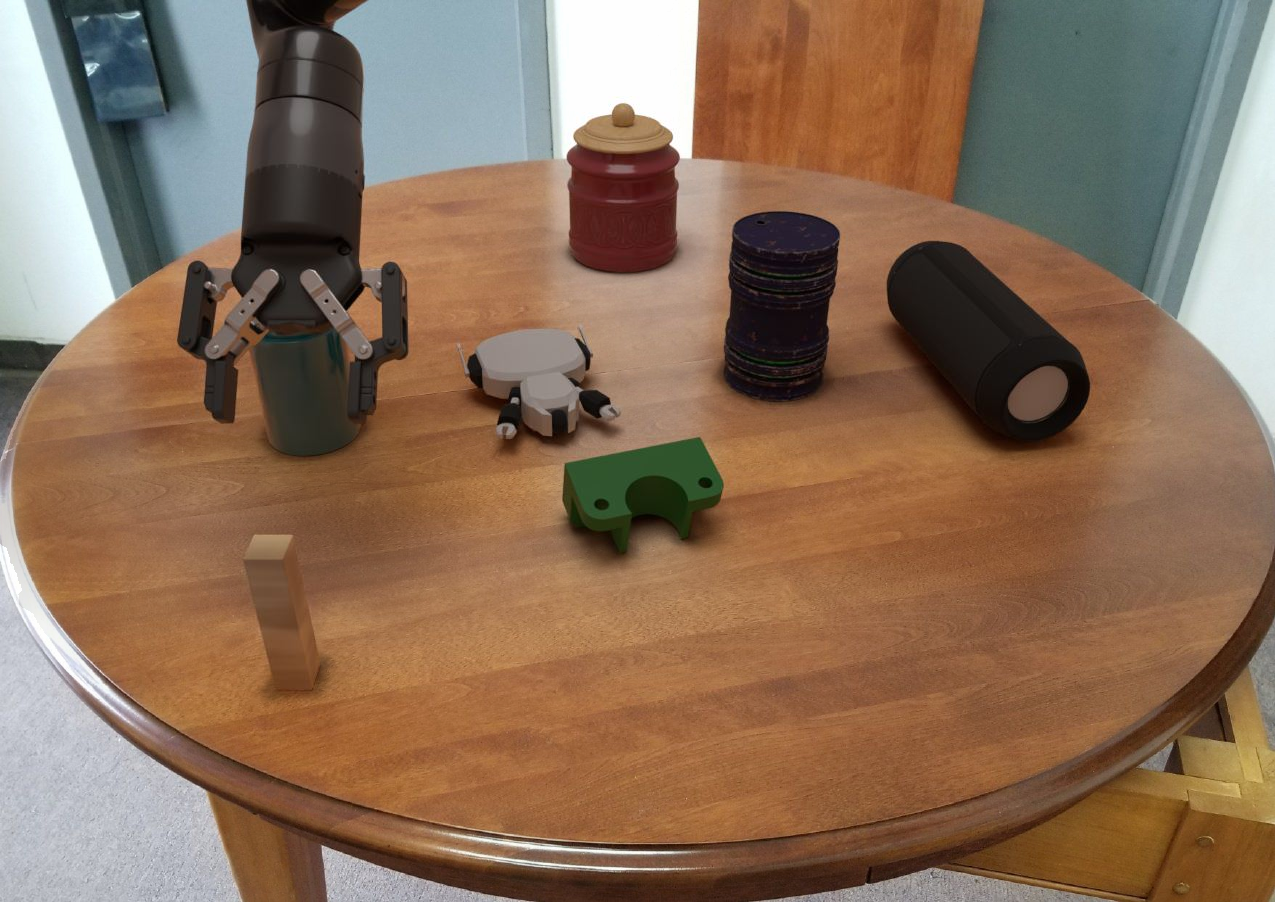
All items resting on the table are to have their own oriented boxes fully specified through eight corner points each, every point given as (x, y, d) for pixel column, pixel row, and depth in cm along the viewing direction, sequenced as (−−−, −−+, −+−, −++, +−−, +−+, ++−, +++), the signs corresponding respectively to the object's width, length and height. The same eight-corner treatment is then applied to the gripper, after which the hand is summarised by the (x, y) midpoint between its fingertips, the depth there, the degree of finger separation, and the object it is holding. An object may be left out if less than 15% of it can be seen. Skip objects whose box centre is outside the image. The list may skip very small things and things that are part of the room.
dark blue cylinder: (844, 375, 105) (863, 230, 96) (784, 413, 99) (799, 263, 90) (762, 341, 110) (774, 202, 102) (701, 376, 104) (708, 231, 96)
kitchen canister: (612, 223, 137) (611, 81, 127) (697, 247, 130) (704, 100, 120) (546, 256, 128) (540, 106, 118) (635, 284, 121) (636, 128, 112)
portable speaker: (1084, 445, 95) (1113, 345, 89) (979, 456, 93) (1002, 355, 87) (958, 317, 115) (976, 229, 110) (871, 324, 114) (884, 235, 108)
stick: (285, 663, 72) (253, 533, 65) (321, 663, 72) (293, 534, 66) (275, 690, 70) (242, 559, 63) (312, 690, 70) (282, 559, 64)
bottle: (249, 445, 93) (210, 276, 84) (302, 401, 100) (271, 239, 91) (328, 463, 91) (296, 292, 82) (377, 417, 97) (353, 252, 89)
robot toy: (628, 442, 96) (579, 354, 107) (630, 400, 93) (579, 315, 104) (494, 467, 92) (457, 374, 103) (491, 424, 90) (454, 334, 101)
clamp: (605, 589, 85) (566, 533, 77) (582, 532, 88) (543, 473, 81) (742, 523, 84) (716, 460, 77) (713, 468, 88) (686, 404, 81)
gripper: (174, 159, 68) (153, 408, 65) (400, 160, 68) (389, 408, 65) (218, 208, 75) (200, 434, 72) (421, 209, 75) (413, 434, 72)
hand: (290, 421), depth 69 cm, fingers open, 8 cm apart
